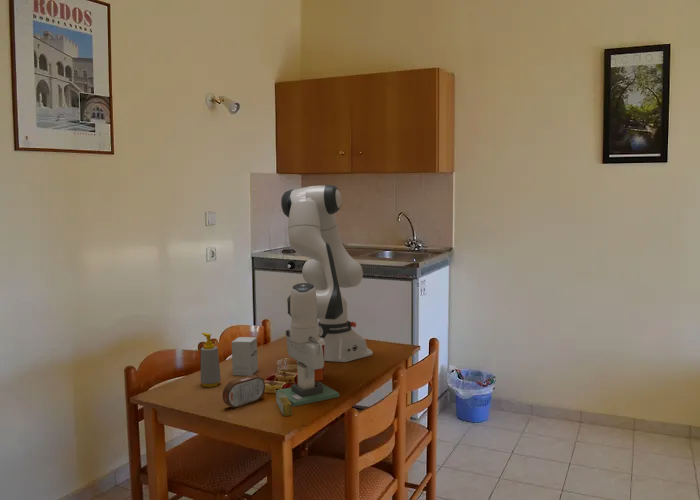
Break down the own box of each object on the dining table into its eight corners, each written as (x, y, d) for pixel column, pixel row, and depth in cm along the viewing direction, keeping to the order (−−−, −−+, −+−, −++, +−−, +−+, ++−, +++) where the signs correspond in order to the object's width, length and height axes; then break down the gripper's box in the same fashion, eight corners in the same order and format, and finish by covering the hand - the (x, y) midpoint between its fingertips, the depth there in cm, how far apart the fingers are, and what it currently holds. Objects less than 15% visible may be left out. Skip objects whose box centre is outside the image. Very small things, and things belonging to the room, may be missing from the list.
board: (319, 385, 218) (319, 376, 218) (339, 396, 206) (338, 387, 206) (276, 393, 210) (275, 384, 210) (293, 406, 198) (293, 396, 198)
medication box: (276, 403, 202) (275, 391, 201) (284, 402, 203) (283, 390, 202) (283, 417, 190) (282, 404, 190) (292, 415, 191) (291, 402, 191)
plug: (308, 384, 211) (308, 360, 210) (314, 387, 207) (314, 363, 206) (297, 386, 208) (297, 362, 208) (303, 389, 205) (303, 365, 204)
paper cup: (310, 374, 230) (309, 336, 229) (329, 376, 227) (328, 338, 226) (300, 381, 223) (299, 341, 222) (320, 383, 220) (319, 343, 219)
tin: (261, 396, 208) (260, 371, 208) (267, 398, 206) (266, 373, 205) (222, 409, 198) (221, 382, 197) (228, 411, 196) (227, 384, 195)
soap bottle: (212, 380, 227) (210, 330, 225) (225, 383, 222) (222, 333, 220) (196, 385, 222) (193, 334, 220) (208, 389, 217) (206, 337, 215)
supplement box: (251, 376, 230) (250, 341, 229) (232, 375, 232) (230, 341, 230) (258, 370, 237) (257, 336, 236) (239, 369, 239) (238, 336, 238)
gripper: (328, 339, 199) (329, 382, 200) (300, 327, 216) (301, 367, 218) (310, 342, 195) (311, 386, 197) (283, 329, 213) (284, 370, 215)
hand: (305, 376), depth 207 cm, fingers closed on plug, 4 cm apart
